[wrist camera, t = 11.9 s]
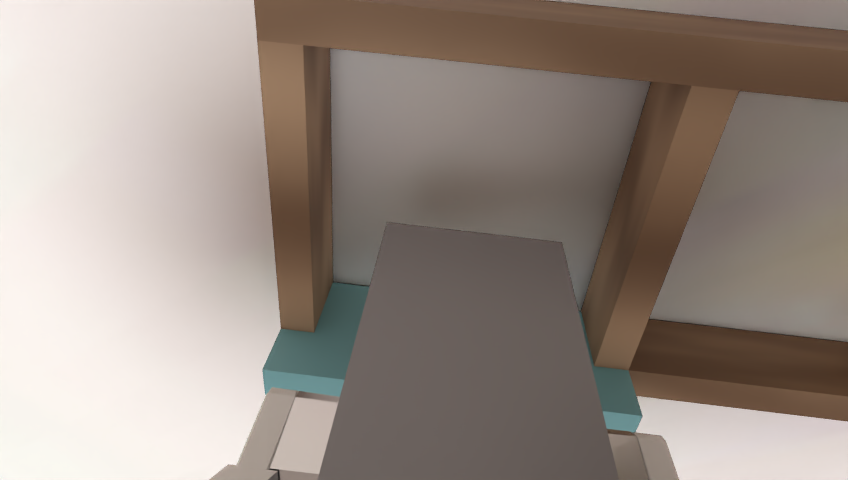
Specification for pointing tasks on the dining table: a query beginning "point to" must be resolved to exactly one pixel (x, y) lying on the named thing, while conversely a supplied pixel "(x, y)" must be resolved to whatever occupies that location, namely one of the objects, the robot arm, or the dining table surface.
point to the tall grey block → (469, 367)
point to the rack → (633, 208)
